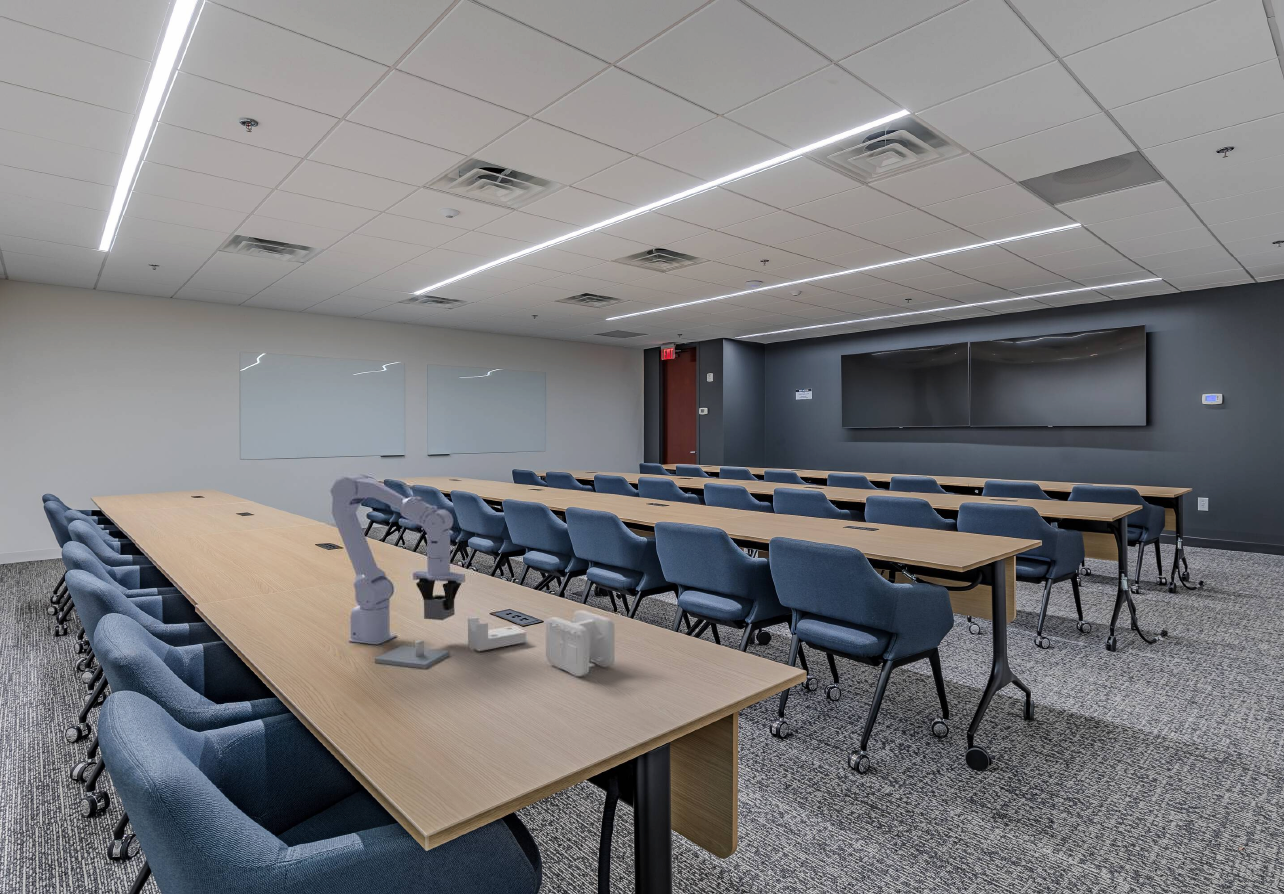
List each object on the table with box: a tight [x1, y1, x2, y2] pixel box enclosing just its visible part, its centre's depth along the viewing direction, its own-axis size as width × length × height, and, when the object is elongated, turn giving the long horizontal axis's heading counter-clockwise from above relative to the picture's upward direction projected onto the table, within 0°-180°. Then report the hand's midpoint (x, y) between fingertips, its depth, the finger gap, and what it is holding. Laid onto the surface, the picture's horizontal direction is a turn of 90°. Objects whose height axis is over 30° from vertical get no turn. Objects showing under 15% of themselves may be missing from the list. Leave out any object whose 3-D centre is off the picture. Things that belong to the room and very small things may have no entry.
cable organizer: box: [545, 609, 616, 677], centre depth 158 cm, size 15×11×12 cm
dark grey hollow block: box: [423, 594, 456, 621], centre depth 177 cm, size 6×6×5 cm
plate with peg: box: [374, 639, 450, 670], centre depth 164 cm, size 14×10×4 cm
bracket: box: [467, 616, 527, 652], centre depth 175 cm, size 13×7×8 cm, turn 125°
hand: (439, 608), depth 177 cm, fingers closed on dark grey hollow block, 5 cm apart
